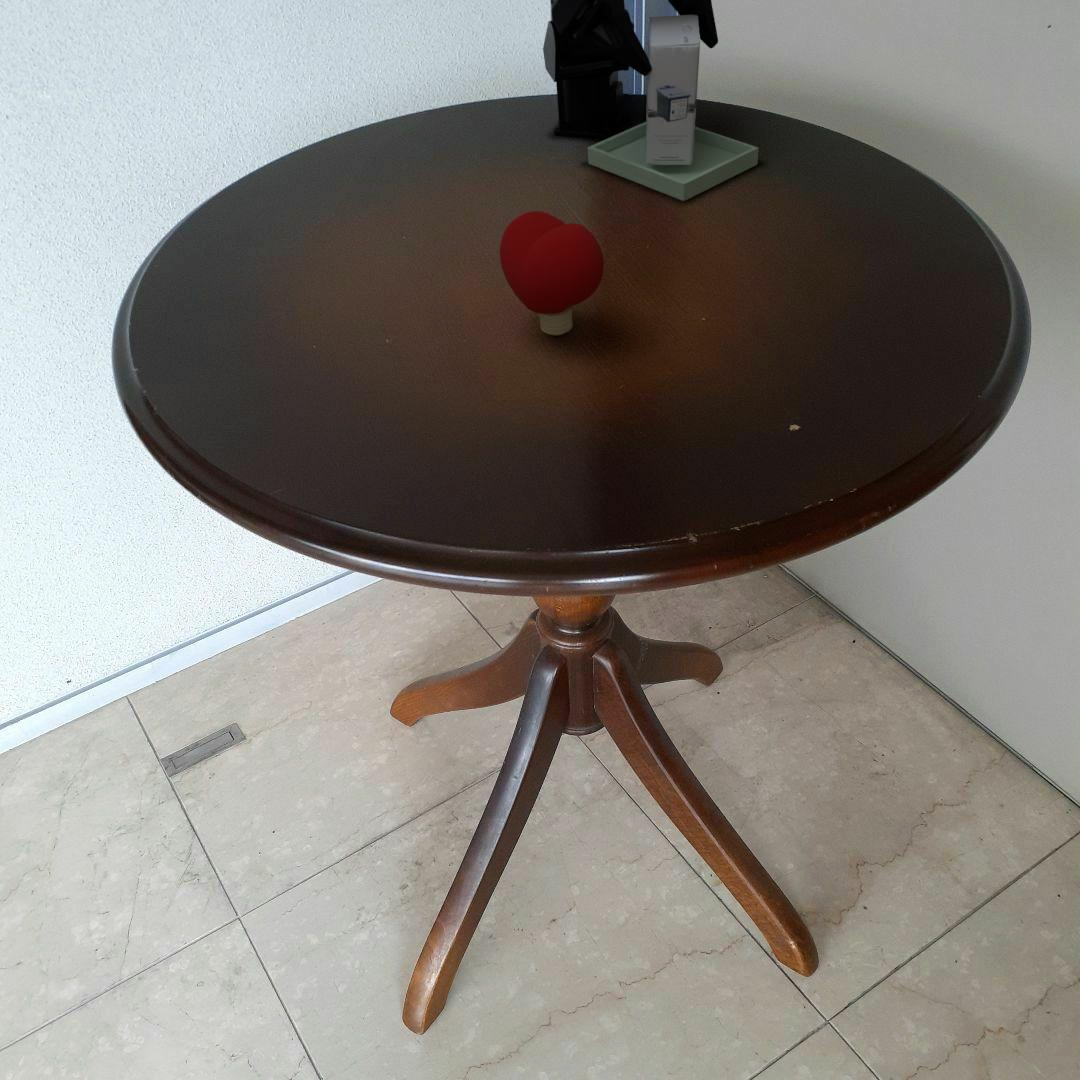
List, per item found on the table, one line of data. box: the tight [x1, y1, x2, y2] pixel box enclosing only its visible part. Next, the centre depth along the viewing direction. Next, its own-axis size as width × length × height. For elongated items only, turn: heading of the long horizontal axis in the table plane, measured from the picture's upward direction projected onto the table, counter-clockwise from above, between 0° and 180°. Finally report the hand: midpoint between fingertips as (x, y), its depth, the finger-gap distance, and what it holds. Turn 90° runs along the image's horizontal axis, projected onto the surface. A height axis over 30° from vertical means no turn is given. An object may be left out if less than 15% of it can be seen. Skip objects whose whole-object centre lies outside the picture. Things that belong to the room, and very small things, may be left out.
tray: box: [587, 121, 760, 202], centre depth 107 cm, size 14×11×2 cm
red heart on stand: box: [499, 210, 605, 338], centre depth 82 cm, size 9×7×10 cm
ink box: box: [645, 14, 701, 165], centre depth 103 cm, size 9×5×12 cm, turn 175°
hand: (682, 59), depth 100 cm, fingers closed on ink box, 9 cm apart
